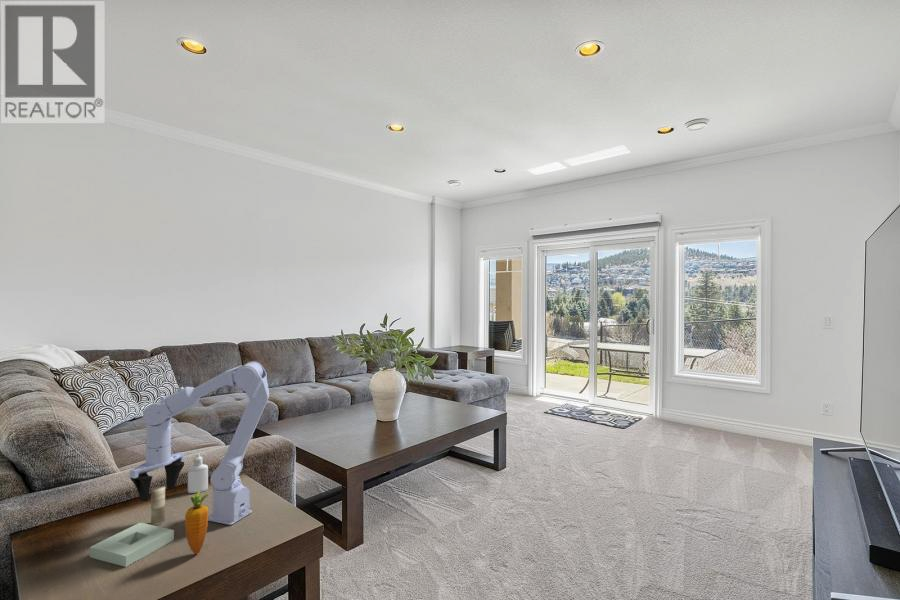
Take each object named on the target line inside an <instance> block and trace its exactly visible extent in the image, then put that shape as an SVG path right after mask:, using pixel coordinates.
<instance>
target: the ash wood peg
mask: <svg viewBox="0 0 900 600" xmlns="http://www.w3.org/2000/svg"><path fill="white" fill-rule="evenodd" d="M150 494H151V495H150V498H151V499H150V525H153V526H161V525H163V524H165V522H166V485H165V486H164V485H158V486H154V487H152V488H151V490H150Z"/></svg>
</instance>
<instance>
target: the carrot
mask: <svg viewBox="0 0 900 600" xmlns="http://www.w3.org/2000/svg"><path fill="white" fill-rule="evenodd" d="M200 495H201V492H200V491H198V492H197V493H195V495H191V496H190V501H191V502H192V505H193V506H192V507H189V508H188V509H187V511H186V512H185V516H184V519H185V522H184V524H185V525H184V526H185V535H186V540H187V545H188V547H189V549H190V550H191V552H192V553H193V554H194V555H198V554H199V553H200V551H201V549H202V548H203V545H204V542H205V539H206V535H207V530H208V524H209V521H208V516H209V507H208V506H207V505H203V501H204V500H205V498H208V496H209V494H208V493H205V494H204V495H203V496H202V497H201V498H200Z"/></svg>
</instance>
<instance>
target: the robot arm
mask: <svg viewBox="0 0 900 600" xmlns="http://www.w3.org/2000/svg"><path fill="white" fill-rule="evenodd" d="M267 376H268V373H267V371H266V369H265V368H264V367H263V365H262V364H261V363H260V362H258V361H249V362H247V363H245V364H243V365H242V364H241V365H238V366H236V367H233V368H231V369H227V370H225V371H224V372H222V373H220V374H218V375H216V376H214V377H213V378H211V379H209V380H207V381H205V382H203V383H202V384H199V385H198V386H197V387H192V386H185V387H184V386H181V387H179V388H177V389H176V392H174V393H172V394H170V395H168V396H163V397H160V399H159V400H158V401H156V402H154V403H152V404H150V405H148V406H147V407H146V408H145V409H144V410H143V413H142V419H143V421H144V422H145V424H146V431H145V434H146V437H145V440H146V441H145V443H146V444H145V446H146V447H145V448H146V449H145V460H144V462H143V463H141V464H140V465H138V466H136V467H134V468H132V469H129V472H128V474H129V479H130V481H132V483H133V485H134V486H135V488H136V489H137V493H138V496H139V499H140V501H143V502H147V501H149V498H150V488H151V483H152V479H153V476H152V475H149V474H148V473H149V472H152V471H155V470H159V469H160V468H163V467H164V471H165V476H166V477H165V479H166V480H165V481H166V485H165V486H166V489H168V490H174V489H176V488H175V487H176V484H177V482H178V481H177V480H178V478H179V475H180V474H181V472H182V469H183V468H184V466H185V461H184V460H185V452H179V451H178V452H175V453H173V454H172V418H173V417H175V416H178V415H180V414H181V413H183V412H185V411H187V410H189V409H191V408H193V407H195V406H196V405H198V404H199V401H200V399H201V397H204V396H206V395H208V394H210V393H212V392H214V391H216V390H219V389H220V388H222V387H224V386H229V387H235V386H238V387H239V388H240V389H241V390H242V391H243V392H245V393H246V396H247V397H248V403H247V405H246V407H245V409H244V412H243V414H242V416H241V419H240V421H239V423H238V426H237V428H236V430H235V432H234V434H233V437H232V439H231V441H230V443H229V445H228V447H227V449H226V452H225V453H224V456H223V457H222V460H221V461H220V463H219V465H218V466H217V467H216V469H215V470H213V471H212V473H211V475H210V479H209V480H210V484H211V486H212V512H211V514H208V522H214V523H219V524H224V525H228V526H232V525H233V524H235V523H238V522H239V521H240V520H242V519H243V518H245V517H247V516H248V515H250V514H252V512H253V510H252V509H251V491H250V489H249V488H248V487H247V486H244V485H243V483H242V480H241V477H240V473H241V472H242V471H243V466H244V465H243V462H244V461H243V460H244V457H245V453H246V450H247V449H248V446H249V443H250V442H251V440H252V438H253V434H254V432H255V430H256V428H257V425H258V424H259V421H260V419H261V417H262V415H263V412H264V410H265V407H266V405H267V403H268V401H269V399H270V389H269V384H268V377H267Z"/></svg>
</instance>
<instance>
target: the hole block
mask: <svg viewBox="0 0 900 600" xmlns="http://www.w3.org/2000/svg"><path fill="white" fill-rule="evenodd" d="M174 538H175V530H174V529H171V528H166V527H161V526H159V525H157V526H153V525H151V524H150V523H149V524H148V523H144V522H138V523H136V524H135V525H132V526H130V527H128V528H126V529H123V530H122V531H120V532H117V533H115V534H114V535H111V536H109V537H107V538H105V539H103V540H101V541H99V542H97V543H95V544H94V545H91V546H90V547H89V558H91V559H95V560H98V561H102V562H106V563H108V564H109V563H110V564H114V565H117V566H121V567H124V568H127V567H129V566H130V564H131V565H133V564H134V563H135V561H136V562H138V561H140V560H141V559H143V558H144V557H146V556H149V555H150V554H152V553H153V552H155V551H157V550H158V549H160V548H162V547H164V546H165V545H167V544H170V543H171V542H173V541H175V539H174ZM137 560H138V561H137ZM133 562H134V563H133Z"/></svg>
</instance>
